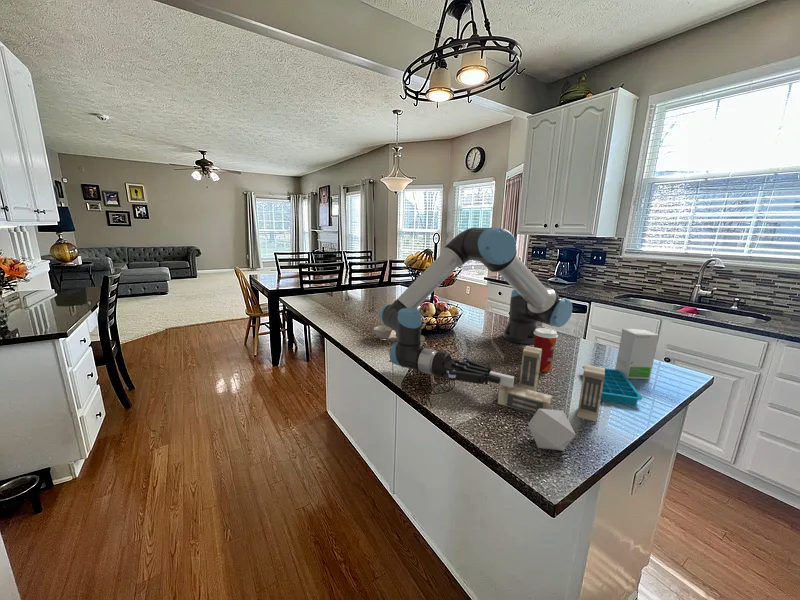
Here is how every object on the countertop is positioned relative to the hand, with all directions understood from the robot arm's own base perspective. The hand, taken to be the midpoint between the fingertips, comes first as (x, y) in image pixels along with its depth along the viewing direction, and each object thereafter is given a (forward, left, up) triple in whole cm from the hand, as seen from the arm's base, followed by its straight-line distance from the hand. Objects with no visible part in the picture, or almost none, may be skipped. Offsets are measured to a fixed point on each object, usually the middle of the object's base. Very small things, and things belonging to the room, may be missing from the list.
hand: (513, 382), depth 90 cm
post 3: (-5, +19, -7) cm, 20 cm away
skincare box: (-42, +31, -7) cm, 52 cm away
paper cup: (-30, +4, -7) cm, 31 cm away
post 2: (0, -3, -5) cm, 5 cm away
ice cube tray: (-26, +24, -7) cm, 36 cm away
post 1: (-11, +3, -7) cm, 13 cm away
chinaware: (-26, -51, -7) cm, 57 cm away
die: (+14, +12, -7) cm, 19 cm away
